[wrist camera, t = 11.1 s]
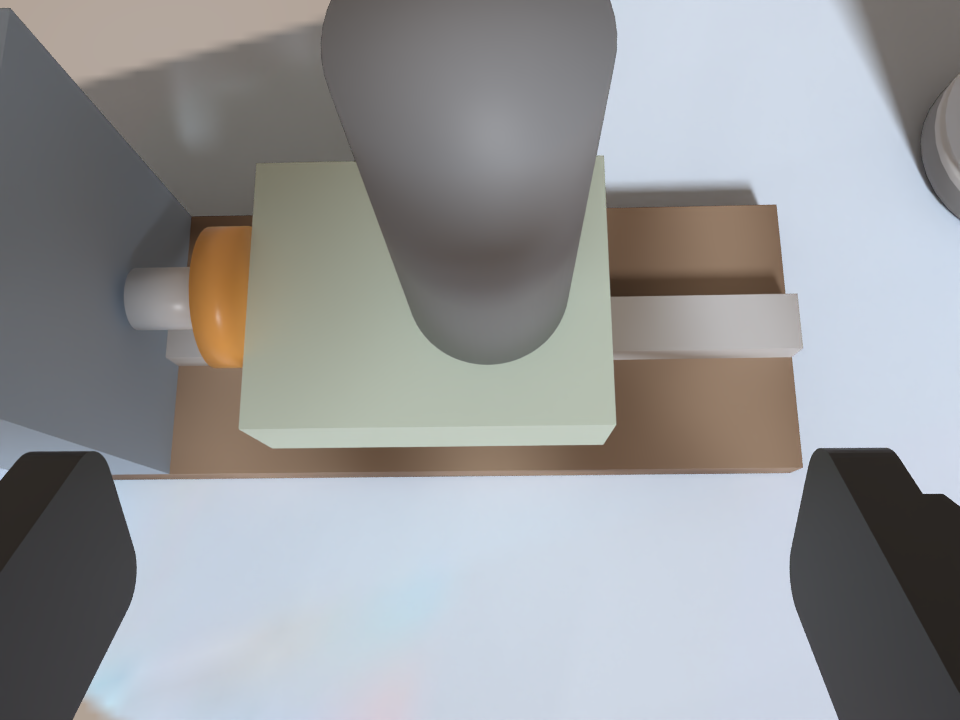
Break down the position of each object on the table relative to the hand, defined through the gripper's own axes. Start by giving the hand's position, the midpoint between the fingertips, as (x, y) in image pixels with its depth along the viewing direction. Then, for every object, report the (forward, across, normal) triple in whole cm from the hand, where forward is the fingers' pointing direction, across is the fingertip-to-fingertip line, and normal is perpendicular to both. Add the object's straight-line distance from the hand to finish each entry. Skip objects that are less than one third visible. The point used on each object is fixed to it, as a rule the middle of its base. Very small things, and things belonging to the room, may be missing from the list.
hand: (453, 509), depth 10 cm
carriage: (+14, +1, +5) cm, 15 cm away
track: (+15, +2, +7) cm, 17 cm away
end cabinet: (+15, +11, +6) cm, 19 cm away
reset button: (+13, +7, +4) cm, 16 cm away
